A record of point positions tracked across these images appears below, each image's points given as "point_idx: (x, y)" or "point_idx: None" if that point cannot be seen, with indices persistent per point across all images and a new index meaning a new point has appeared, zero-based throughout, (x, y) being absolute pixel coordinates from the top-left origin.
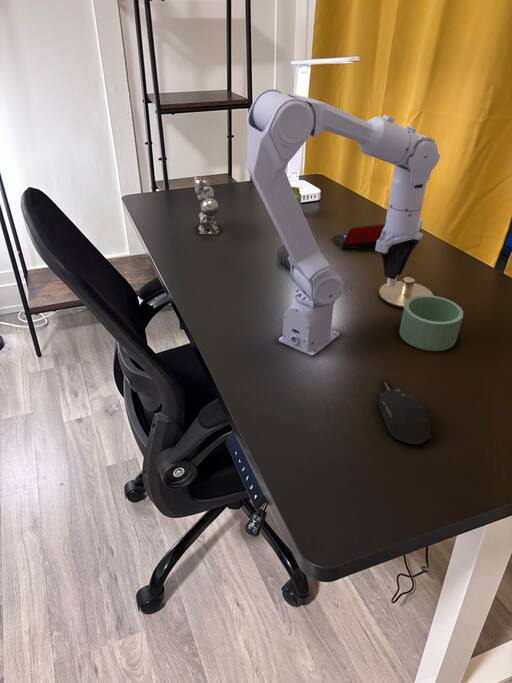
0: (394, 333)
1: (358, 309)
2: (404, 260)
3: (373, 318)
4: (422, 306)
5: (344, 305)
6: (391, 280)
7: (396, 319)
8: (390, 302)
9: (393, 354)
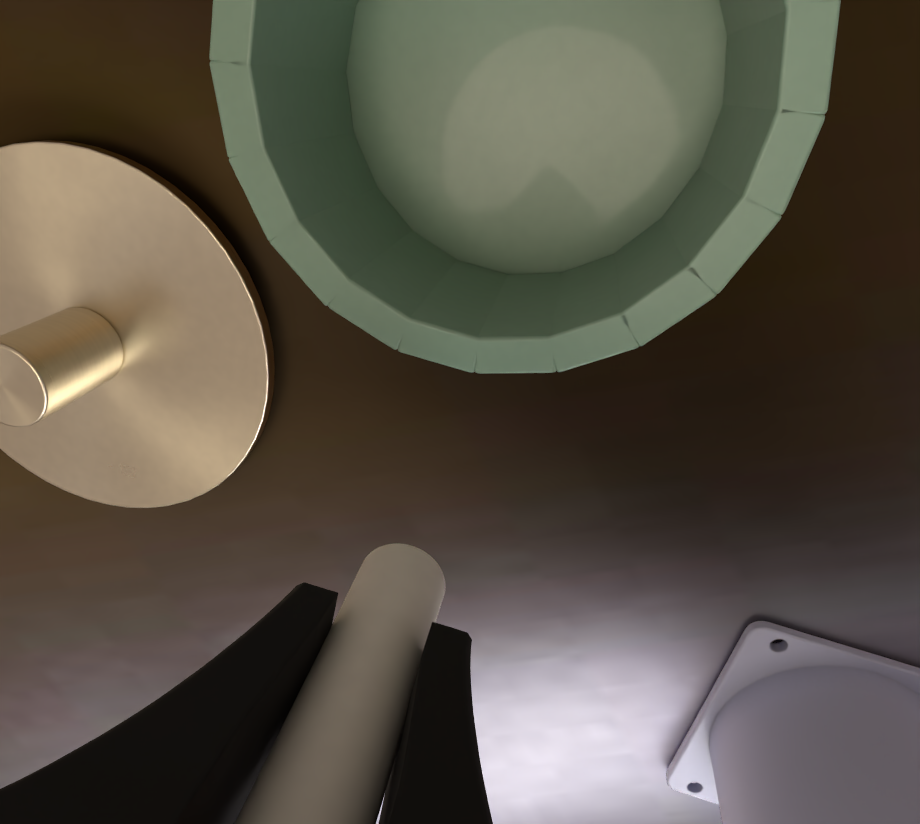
0: None
1: None
2: (247, 730)
3: (467, 473)
4: (336, 206)
5: None
6: None
7: None
8: (263, 421)
9: (887, 278)
